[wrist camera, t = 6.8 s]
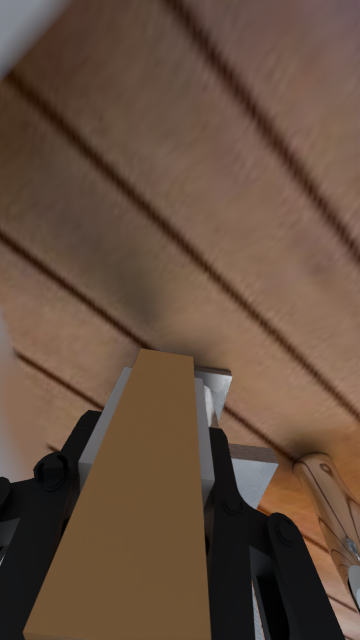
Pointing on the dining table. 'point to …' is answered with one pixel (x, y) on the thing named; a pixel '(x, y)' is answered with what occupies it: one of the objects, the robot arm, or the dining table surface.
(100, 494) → the tan wooden block
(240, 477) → the metal pedestal stand
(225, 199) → the dining table surface
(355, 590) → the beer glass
